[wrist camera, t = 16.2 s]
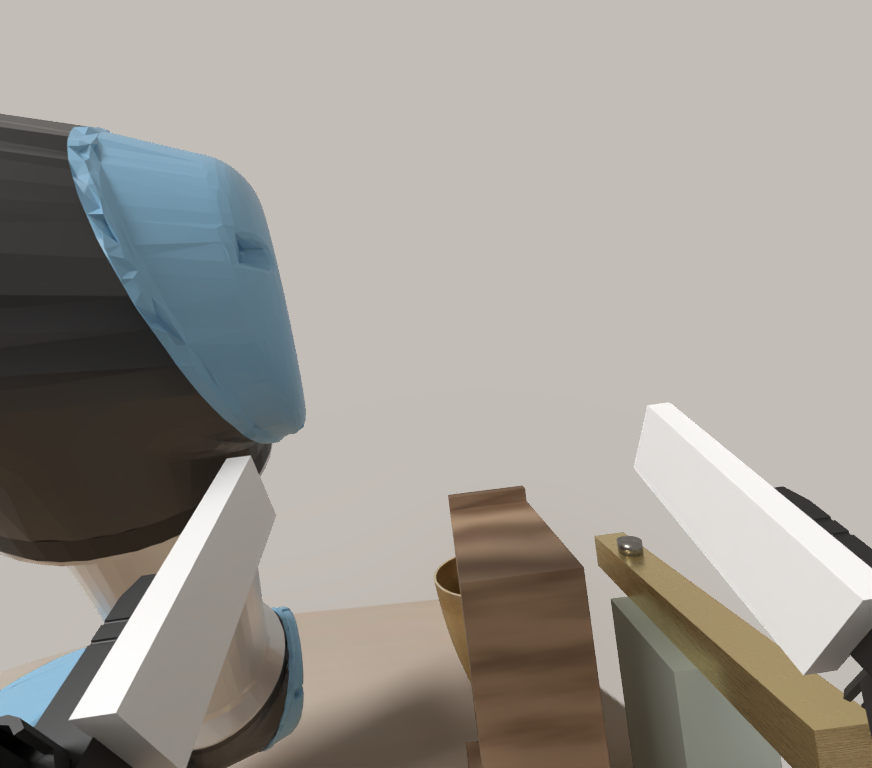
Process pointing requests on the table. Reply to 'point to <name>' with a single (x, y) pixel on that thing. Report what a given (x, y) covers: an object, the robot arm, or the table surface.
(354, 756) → the table surface
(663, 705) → the grey block
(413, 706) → the table surface
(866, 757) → the brass bar
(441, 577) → the plant pot
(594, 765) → the walnut stand
